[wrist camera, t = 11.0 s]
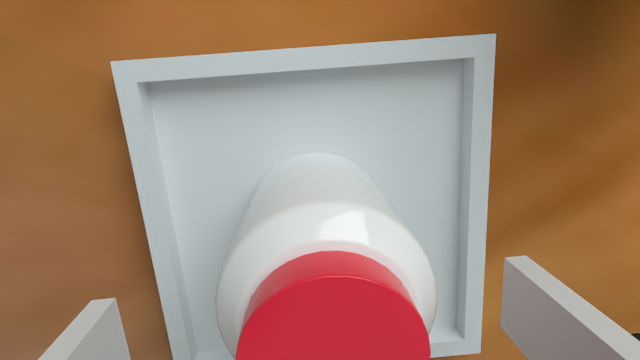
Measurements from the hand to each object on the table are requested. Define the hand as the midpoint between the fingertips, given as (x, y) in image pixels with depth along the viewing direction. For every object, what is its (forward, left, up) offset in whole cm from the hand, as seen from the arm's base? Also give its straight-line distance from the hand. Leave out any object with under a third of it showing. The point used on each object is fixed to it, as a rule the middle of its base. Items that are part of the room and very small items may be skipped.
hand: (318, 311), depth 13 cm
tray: (0, 0, -9) cm, 9 cm away
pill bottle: (0, 0, -9) cm, 9 cm away
